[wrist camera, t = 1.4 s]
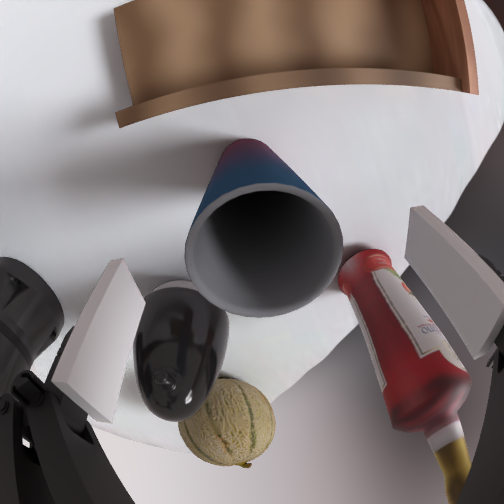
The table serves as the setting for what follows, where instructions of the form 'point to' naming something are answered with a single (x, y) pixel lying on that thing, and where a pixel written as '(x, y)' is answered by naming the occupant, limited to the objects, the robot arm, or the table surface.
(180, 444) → the table surface
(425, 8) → the board
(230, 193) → the cup
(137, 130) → the table surface
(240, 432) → the cantaloupe
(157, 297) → the black egg-shaped device
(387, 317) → the liquor
